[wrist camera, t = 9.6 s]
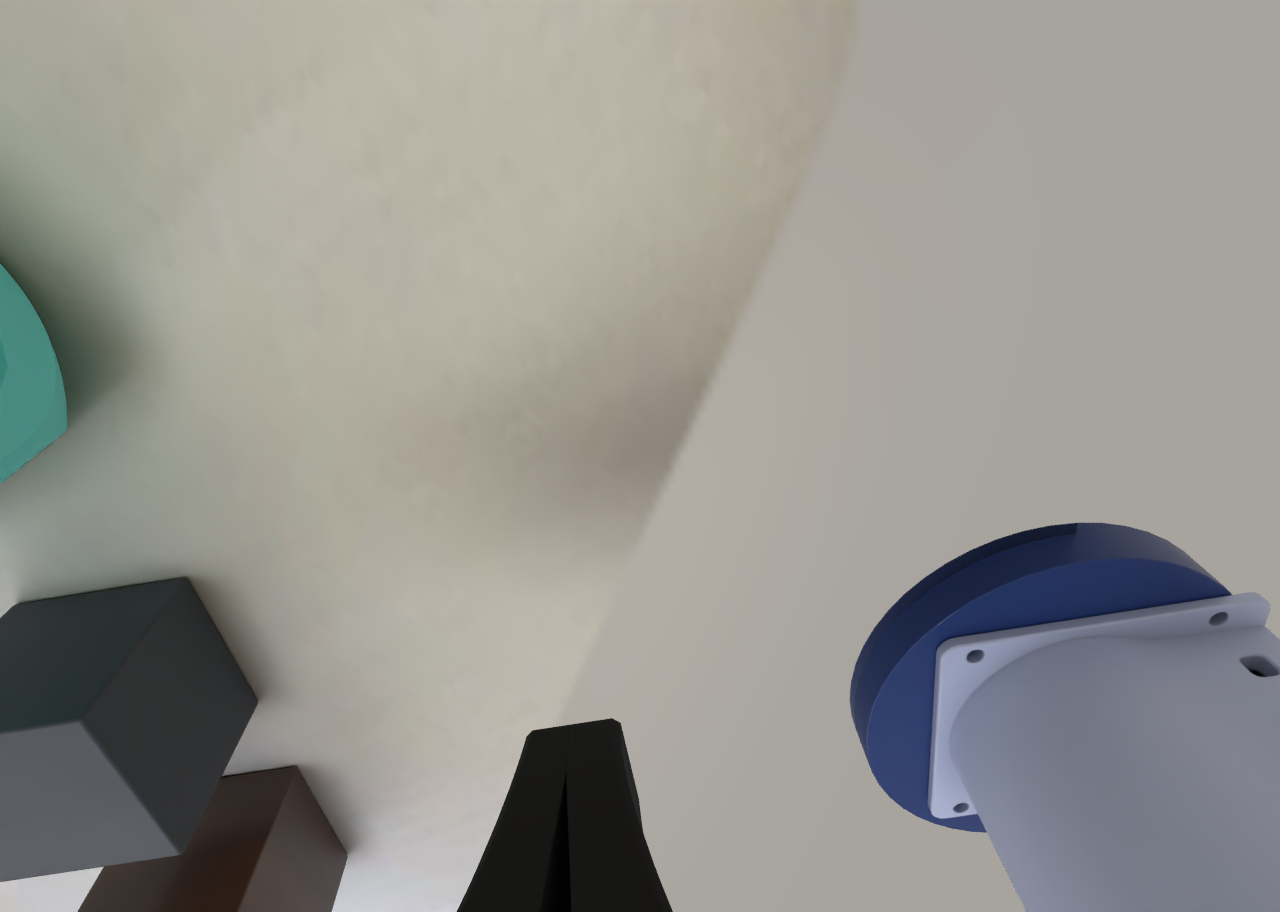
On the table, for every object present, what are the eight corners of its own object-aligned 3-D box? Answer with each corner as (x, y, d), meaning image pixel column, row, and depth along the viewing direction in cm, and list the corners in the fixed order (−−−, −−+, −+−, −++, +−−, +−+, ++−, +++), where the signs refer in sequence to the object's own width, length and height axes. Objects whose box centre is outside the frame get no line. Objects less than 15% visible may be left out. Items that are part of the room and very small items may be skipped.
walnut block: (296, 765, 25) (233, 922, 20) (348, 856, 27) (302, 1013, 23) (149, 787, 25) (54, 948, 20) (214, 876, 27) (142, 1036, 23)
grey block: (187, 575, 21) (80, 719, 16) (260, 701, 23) (183, 856, 19) (12, 603, 21) (-140, 754, 16) (103, 726, 23) (-9, 885, 19)
